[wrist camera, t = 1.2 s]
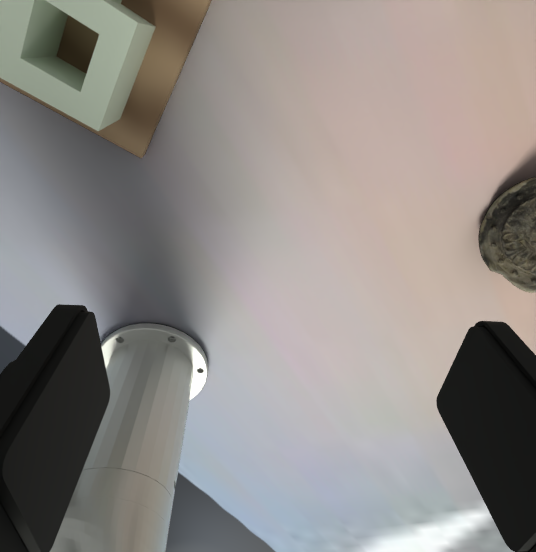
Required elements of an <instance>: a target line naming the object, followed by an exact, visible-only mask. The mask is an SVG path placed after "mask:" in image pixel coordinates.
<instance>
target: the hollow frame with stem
mask: <svg viewBox="0 0 536 552" xmlns="http://www.w3.org/2000/svg"><path fill="white" fill-rule="evenodd" d="M121 2H122V0H0V78H2V79H3V80H5V81H7V82H9V83H11V84H13V85H14V86H16V87H18V88H20V89H22V90H24V91H25V92H27V93H29V94H31V95H33V96H34V97H36V98H38V99H40V100H42V101H44V102H45V103H47V104H49V105H51V106H53V107H55V108H56V109H58V110H60V111H62V112H64V113H66V114H67V115H69V116H71V117H73V118H75V119H77V120H78V121H80V122H82V123H84V124H86V125H87V126H89V127H91V128H93V129H95V130H97V131H100V130H102V129H103V128H105V127H107V126H109V125H111V124H112V123H114V122H116V121H118V120H119V119H120V118H121V116H122V113H123V110H124V108H125V105H126V103H127V100H128V97H129V95H130V92H131V90H132V87H133V84H134V82H135V79H136V77H137V74H138V71H139V69H140V66H141V64H142V61H143V59H144V56H145V53H146V51H147V48H148V46H149V43H150V40H151V38H152V35H153V33H154V30H155V26H154V25H152V24H151V23H149V22H148V21H146V20H145V19H143V18H142V17H140V16H139V15H137V14H136V13H134V12H133V11H131V10H129V9H128V8H126V7H125V6H123V5H122V4H121ZM68 15H69V16H71V17H73V18H74V19H76V20H77V21H79V22H81V23H82V24H84V25H85V26H87V27H89V28H90V29H92V30H93V31H95V32H96V33H98V34H99V37H98V40H97V43H96V46H95V49H94V52H93V55H92V58H91V61H90V64H89V68H88V71H87V74H86V73H84V72H82V71H80V70H79V69H77V68H75V67H74V66H72V65H70V64H69V63H67V62H65V61H63V60H62V59H60V58H58V57H57V52H58V49H59V45H60V42H61V38H62V35H63V31H64V28H65V24H66V21H67V17H68Z"/></svg>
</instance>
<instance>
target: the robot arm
mask: <svg viewBox="0 0 536 552" xmlns="http://www.w3.org/2000/svg"><path fill="white" fill-rule="evenodd" d="M207 373H208V363H207V358H206V356H205V353H204V351H203V350H202V348H201V347H200V346H199V344H198V343H197V342H195V341H194V340H193V339H192V338H191V337H189V336H188V335H186V334H185V333H183V332H181V331H179V330H177V329H175V328H172V327H168V326H165V325H160V324H152V323H140V324H134V325H129V326H126V327H123V328H120V329H118V330H116V331H115V332H113V333H111V334H110V335H109V336H108V337H107V338H106V339H105V340H104V341H103V343H102V344H101V343H100V338H99V333H98V328H97V323H96V319H95V315H94V313H93V312H88V311H87V308H86V307H85V306H83V305H57V306H56V307H55V308H54V309H53V310H52V311H51V313H50V314H49V316H48V317H47V318H46V320H45V321H44V322H43V324H42V325H41V326H40V328H39V329H38V331H37V332H36V333H35V335H34V336H33V337H32V339H31V340H30V341H29V343H28V344H27V346H26V347H25V348H24V350H23V351H22V352H21V354H20V355H19V356H18V358H17V359H16V360H15V361H13V362H11V363H9V364H8V366H7V367H6V368H5V369H4V370H3V371H2V373H1V374H0V552H165V550H166V543H167V536H168V530H169V523H170V517H171V511H172V504H173V498H174V493H175V486H176V480H177V474H178V468H179V462H180V456H181V450H182V444H183V437H184V431H185V425H186V419H187V413H188V407H189V401H190V399H192V398H193V397H194V396H196V395H197V394H198V393H199V392H200V391H201V390H202V388H203V386H204V384H205V383H206V379H207ZM437 408H438V411H439V413H440V415H441V417H442V419H443V421H444V423H445V425H446V427H447V429H448V431H449V433H450V435H451V437H452V439H453V441H454V443H455V445H456V447H457V449H458V451H459V453H460V455H461V457H462V458H463V460H464V462H465V464H466V466H467V468H468V470H469V472H470V474H471V476H472V478H473V480H474V482H475V484H476V486H477V488H478V490H479V492H480V494H481V496H482V498H483V500H484V502H485V504H486V506H487V508H488V510H489V512H490V514H491V516H492V518H493V520H494V522H495V524H496V526H497V528H498V530H499V532H500V534H501V535H502V537H503V539H504V541H505V543H506V545H507V546H508V547H509V548H510V549H511V550H513V551H515V552H536V355H535V354H534V353H533V352H532V351H531V350H530V349H529V348H528V346H527V345H526V344H525V343H524V342H523V341H522V340H521V339H520V338H519V336H518V335H517V334H516V333H515V332H514V331H513V330H512V329H511V328H510V327H509V325H507V324H506V323H504V322H492V321H480V322H478V323H476V324H475V326H474V327H471V328H470V329H469V330H468V332H467V334H466V336H465V338H464V341H463V343H462V345H461V347H460V349H459V351H458V353H457V356H456V358H455V360H454V362H453V364H452V366H451V368H450V371H449V373H448V375H447V377H446V379H445V381H444V383H443V385H442V388H441V390H440V392H439V394H438V396H437Z"/></svg>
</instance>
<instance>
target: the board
mask: <svg viewBox="0 0 536 552" xmlns="http://www.w3.org/2000/svg"><path fill="white" fill-rule="evenodd" d="M211 1H212V0H122V2H121V4H122V5H123V6H125V7H126V8H128V9H129V10H131V11H133V12H134V13H136V14H137V15H139V16H140V17H142V18H143V19H145V20H146V21H148V22H149V23H151V24H152V25H154V26H155V30H154V33H153V35H152V38H151V40H150V43H149V46H148V48H147V51H146V53H145V56H144V59H143V61H142V64H141V66H140V69H139V71H138V74H137V77H136V79H135V82H134V84H133V87H132V90H131V92H130V95H129V97H128V100H127V103H126V105H125V108H124V110H123V113H122V116H121V118H120V119H119V120H118V121H116V122H114V123H112V124H111V125H109V126H107V127H105V128H103V129H102V130H100V131H97V130H95V129H93V128H91V127H89V126H87V125H86V124H84V123H82V122H80V121H78V120H77V119H75V118H73V117H71V116H69V115H67V114H66V113H64V112H62V111H60V110H58V109H56V108H55V107H53V106H51V105H49V104H47V103H45V102H44V101H42V100H40V99H38V98H36V97H34V96H33V95H31V94H29V93H27V92H25V91H24V90H22V89H20V88H18V87H16V86H14V85H13V84H11V83H9V82H7V81H5V80H3V79H2V78H0V82H2V83H3V84H5V85H7V86H9V87H11V88H13V89H14V90H16V91H18V92H20V93H22V94H24V95H25V96H27V97H29V98H31V99H33V100H35V101H37V102H38V103H40V104H42V105H44V106H46V107H48V108H49V109H51V110H53V111H55V112H57V113H59V114H60V115H62V116H64V117H66V118H68V119H70V120H71V121H73V122H75V123H77V124H79V125H81V126H82V127H84V128H86V129H88V130H90V131H92V132H93V133H95V134H97V135H99V136H101V137H103V138H105V139H106V140H108V141H110V142H112V143H114V144H116V145H117V146H119V147H121V148H123V149H125V150H127V151H128V152H130V153H132V154H134V155H136V156H138V157H139V158H142V157H143V156H144V155H145V153H146V150H147V148H148V146H149V144H150V141H151V139H152V137H153V134H154V132H155V130H156V127H157V125H158V123H159V121H160V118H161V116H162V114H163V111H164V109H165V107H166V104H167V102H168V100H169V98H170V95H171V93H172V91H173V88H174V86H175V84H176V81H177V79H178V77H179V75H180V72H181V70H182V68H183V65H184V63H185V61H186V58H187V56H188V54H189V52H190V49H191V47H192V45H193V42H194V40H195V38H196V35H197V33H198V31H199V29H200V26H201V24H202V22H203V19H204V17H205V15H206V12H207V10H208V8H209V6H210V3H211ZM98 37H99V34H98V33H96V32H95V31H93V30H92V29H90V28H89V27H87V26H85V25H84V24H82V23H81V22H79V21H77V20H76V19H74V18H73V17H71V16H69V15H68V17H67V21H66V24H65V28H64V31H63V35H62V38H61V42H60V45H59V49H58V52H57V57H58V58H60V59H62V60H63V61H65V62H67V63H69V64H70V65H72V66H74V67H75V68H77V69H79V70H80V71H82V72H84V73H86V74H87V71H88V68H89V64H90V61H91V58H92V55H93V52H94V49H95V46H96V43H97V40H98Z"/></svg>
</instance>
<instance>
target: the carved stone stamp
mask: <svg viewBox="0 0 536 552" xmlns="http://www.w3.org/2000/svg"><path fill="white" fill-rule="evenodd" d="M479 248H480V252H481V256H482V258H483V260H484V262H485V263H486V265H487V266H488V268H489V269H490V270H491V271H494V272H496V273H499V274H501V275H503V276H504V277H505V278H506V279H507V280H508V281H510V282H511V283H512V284H513V285H514V286H516V287H517V288H519V289H521V290H523V291H525V292H529V293H534V292H536V177H534V178H530V179H527V180H525V181H522V182H520V183H518V184H516V185H514V186H513V187H511V188H510V189H508V190H507V191H505V192H504V193H503V194H501V195H500V196H499V197H498V198H497V199H496V200H495V201H494V203H493V204H492V205H491V206H490V208H489V210H488V212H487V213H486V215H485V217H484V220H483V222H482V224H481V226H480V231H479Z"/></svg>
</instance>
